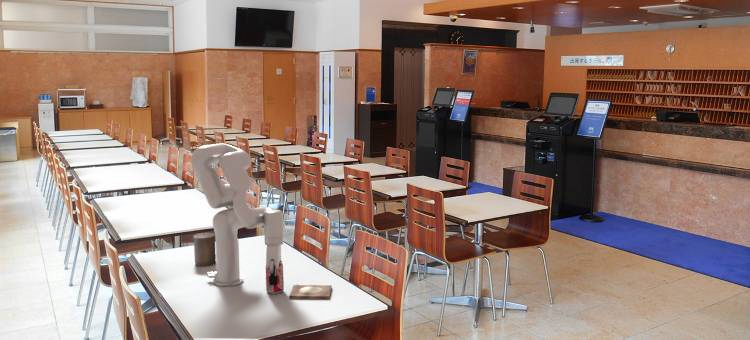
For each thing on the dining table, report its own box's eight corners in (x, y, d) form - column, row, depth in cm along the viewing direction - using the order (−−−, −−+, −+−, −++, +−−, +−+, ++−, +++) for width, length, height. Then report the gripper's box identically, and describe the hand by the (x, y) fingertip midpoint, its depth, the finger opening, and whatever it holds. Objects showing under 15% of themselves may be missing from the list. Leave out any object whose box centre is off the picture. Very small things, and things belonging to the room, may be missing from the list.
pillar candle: (220, 262, 304) (219, 231, 302) (204, 267, 296) (203, 236, 294) (205, 259, 310) (204, 229, 307) (190, 264, 301) (188, 233, 299)
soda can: (280, 295, 261) (279, 264, 259) (263, 294, 262) (262, 263, 260) (286, 289, 268) (285, 259, 266) (269, 288, 269) (269, 258, 267)
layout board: (289, 298, 257) (289, 295, 257) (293, 287, 270) (293, 284, 270) (329, 299, 257) (329, 296, 257) (331, 288, 270) (331, 285, 270)
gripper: (268, 234, 270) (269, 274, 273) (260, 245, 253) (262, 288, 256) (286, 234, 270) (287, 274, 273) (280, 245, 253) (280, 288, 256)
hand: (274, 281), depth 264 cm, fingers open, 7 cm apart
